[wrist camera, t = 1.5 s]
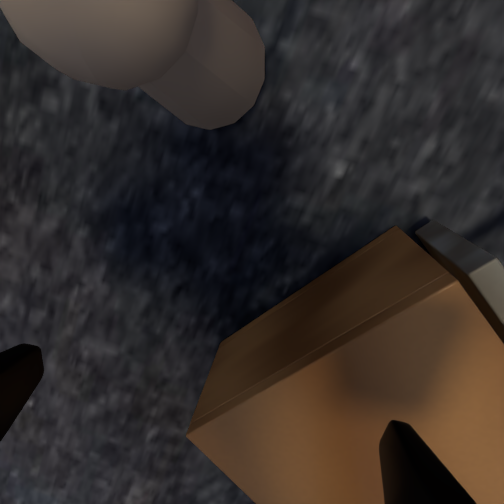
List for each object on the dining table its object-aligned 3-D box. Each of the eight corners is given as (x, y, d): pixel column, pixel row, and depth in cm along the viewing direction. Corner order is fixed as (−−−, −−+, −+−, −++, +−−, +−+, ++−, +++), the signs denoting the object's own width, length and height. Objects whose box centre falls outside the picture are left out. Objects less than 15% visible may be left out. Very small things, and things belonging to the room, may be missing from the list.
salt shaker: (150, 86, 19) (-124, -11, 7) (204, -13, 17) (-39, -410, 5) (229, 150, 19) (115, 172, 7) (291, 63, 17) (277, -112, 5)
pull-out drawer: (518, 163, 17) (638, 177, 11) (615, 319, 19) (761, 403, 13) (252, 336, 22) (236, 406, 16) (348, 442, 24) (364, 539, 18)
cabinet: (395, 224, 19) (458, 279, 12) (500, 367, 22) (610, 491, 14) (220, 342, 24) (184, 436, 16) (321, 450, 26) (331, 577, 19)
